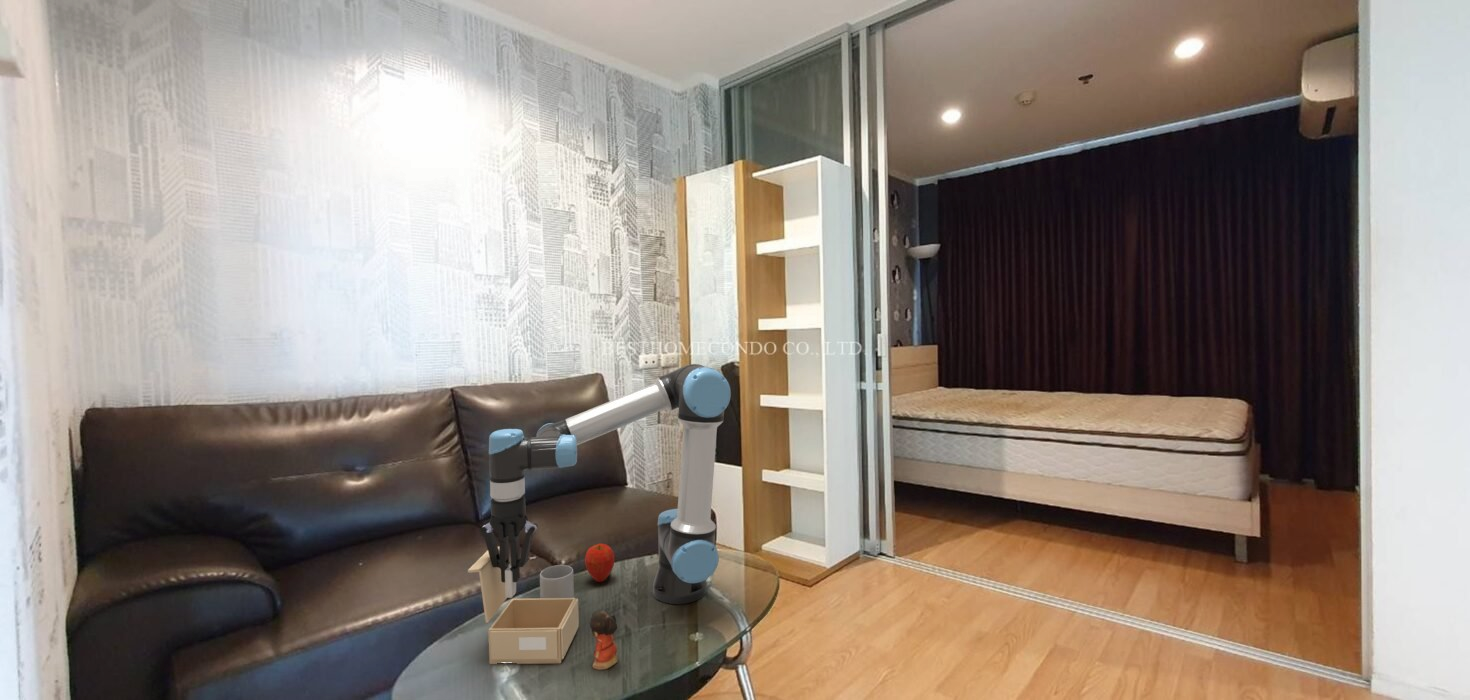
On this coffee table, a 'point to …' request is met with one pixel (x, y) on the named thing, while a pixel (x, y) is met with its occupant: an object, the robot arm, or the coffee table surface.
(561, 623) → the carton
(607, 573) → the apple
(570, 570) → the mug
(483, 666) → the coffee table surface
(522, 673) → the coffee table surface
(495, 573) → the lid
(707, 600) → the coffee table surface
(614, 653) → the figurine
